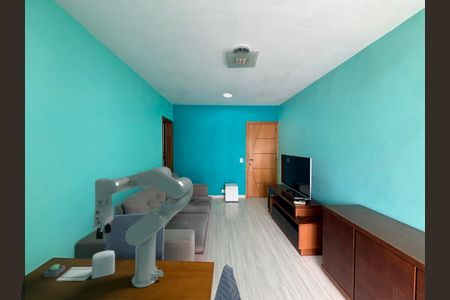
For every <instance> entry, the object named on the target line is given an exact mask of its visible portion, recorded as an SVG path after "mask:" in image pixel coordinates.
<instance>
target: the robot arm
mask: <svg viewBox="0 0 450 300" xmlns="http://www.w3.org/2000/svg"><path fill="white" fill-rule="evenodd" d="M172 175H173V174H172V171H171V169H170V168H169V167H167V166H159V167H155V168H151V169H146V170H142V171H139V172H137V173H135V174H132V175H131V174H130V175H126V176H123V177H117V178H114V179H113V178H99V179H97V180H95V181H94V198H95V199H94V206H95V207H94V213H93V214H94V215H93V226H92V229H93V230H94V232H95V239H96V240H103V239H104V234H111V233H112V222H113V220H114V217H115V214H114V213H115V212H114V205H113V204H114V203H113V195H115V194H119V193H121V192H124V191H128V190H131V189H136V188H142V189H144V188H149V187H153V188H154V189H156V190H157V191H159V192H161V193H163V194H165V196H168V197H169V198H168V199H166V201H164V202H162V203H161V204H160V205H159V206H156V207H155V208H153V209H152V210H150V211H149V212H147V213H145V215H143V216H142V217H140V219H138V220H137V221H136V222H134V223H133V224H132V225H130V226H129V227H128V229H127V230H126V232H125V237H124V238H125V241H126V243H127V244H128V245H130V246H134V247H135V271H134V272H135V274H134V275H133V277H132V279H131V283H132V285H133V287H136V288H145V287H149V286H151V285H152V284H154V283H155V282H156V281H157V280H158V278H160V277H161V278H162V277H163V276H164V272H163V269H158V266H157V265H156V245H157V243H156V242H157V234H158V233H157V232H159V231H160V230H161V229H162V228H163V227H164V226H165V225H166V224H167V223H168V222H169V220H171V219H172V218H173V217H175V216H176V215H177V214H178V213H179V212H180V211H182V210H183V209H184V208H186V206H187V205H188V204H189V203H190V201H191V200H192V197H193V193H194V185H193V182H192V180H191V179H190V178H188V177H185V176H184V177H183V176H182V177H179V178H174V177H172ZM103 228H104V229H103Z"/></svg>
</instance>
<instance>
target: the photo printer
mask: <svg viewBox="0 0 450 300" xmlns="http://www.w3.org/2000/svg"><path fill="white" fill-rule="evenodd" d="M115 253H116V252H115V251H114V250H103V251H98V252H96V253H94V254H93V255H92V259H91V267H92V274H91V279H92V280H93V279H98V278H102V277H107V276H110V275H111V276H112V275H113V274H114V273H115V271H116V270H115V267H116V263H115V259H116V254H115Z"/></svg>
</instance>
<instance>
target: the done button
mask: <svg viewBox="0 0 450 300" xmlns="http://www.w3.org/2000/svg"><path fill="white" fill-rule="evenodd" d="M59 265H60V263H55V264H53V265H51V266H50V268H49V269H50V272H55V271H57V270H58V269H59Z"/></svg>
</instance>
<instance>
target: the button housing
mask: <svg viewBox="0 0 450 300" xmlns="http://www.w3.org/2000/svg"><path fill="white" fill-rule="evenodd" d="M65 270H66V265H65V264H64V265H63V264H62V265H60V264H59V269H58V270H57V271H55V272H50V268H48V269H47V270H45V271H44V272H43V278H56V277H58V275H60V274H61V273H62V272H64V271H65Z"/></svg>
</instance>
